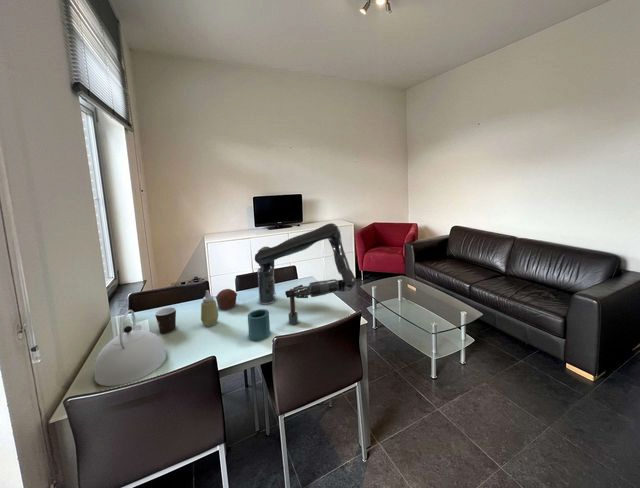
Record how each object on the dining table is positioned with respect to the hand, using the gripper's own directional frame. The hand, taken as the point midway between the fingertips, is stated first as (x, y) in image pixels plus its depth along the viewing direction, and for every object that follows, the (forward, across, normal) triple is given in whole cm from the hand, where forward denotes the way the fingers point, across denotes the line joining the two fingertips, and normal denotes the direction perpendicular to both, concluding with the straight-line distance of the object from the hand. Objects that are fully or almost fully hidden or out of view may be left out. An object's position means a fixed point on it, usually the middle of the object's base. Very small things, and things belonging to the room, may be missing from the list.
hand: (286, 294), depth 151 cm
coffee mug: (+55, -19, +16) cm, 60 cm away
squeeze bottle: (+36, -18, +16) cm, 43 cm away
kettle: (+63, +5, +16) cm, 65 cm away
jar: (+14, +5, +16) cm, 22 cm away
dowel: (-3, 0, +16) cm, 16 cm away
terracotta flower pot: (+28, -36, +16) cm, 48 cm away
